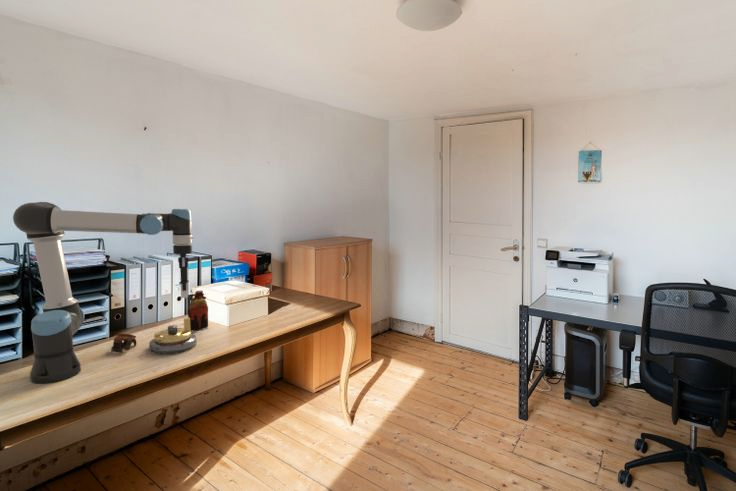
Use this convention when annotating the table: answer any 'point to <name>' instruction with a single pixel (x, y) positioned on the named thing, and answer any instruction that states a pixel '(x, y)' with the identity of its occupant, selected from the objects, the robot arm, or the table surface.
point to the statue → (198, 312)
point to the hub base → (172, 348)
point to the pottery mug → (125, 345)
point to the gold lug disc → (174, 335)
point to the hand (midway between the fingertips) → (184, 297)
